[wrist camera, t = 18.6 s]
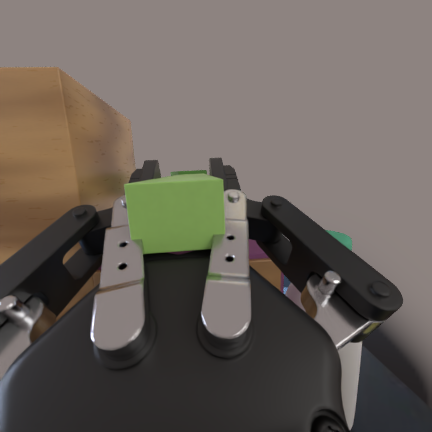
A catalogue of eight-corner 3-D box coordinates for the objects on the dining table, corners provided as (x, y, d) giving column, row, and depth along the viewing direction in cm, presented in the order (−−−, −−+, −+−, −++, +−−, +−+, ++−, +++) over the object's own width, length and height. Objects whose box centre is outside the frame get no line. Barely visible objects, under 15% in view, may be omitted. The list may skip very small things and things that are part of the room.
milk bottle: (343, 382, 28) (358, 226, 24) (363, 456, 21) (389, 251, 17) (279, 368, 30) (282, 223, 26) (277, 431, 23) (281, 245, 19)
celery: (254, 246, 8) (252, 165, 7) (88, 258, 8) (74, 173, 7) (210, 188, 34) (209, 170, 34) (173, 190, 34) (171, 171, 34)
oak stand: (276, 489, 19) (286, 65, 12) (51, 522, 18) (-70, 66, 11) (244, 361, 32) (240, 118, 25) (112, 374, 30) (72, 121, 24)
